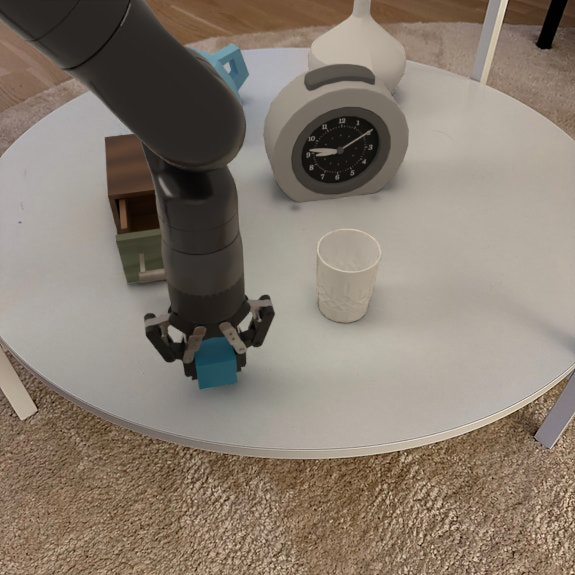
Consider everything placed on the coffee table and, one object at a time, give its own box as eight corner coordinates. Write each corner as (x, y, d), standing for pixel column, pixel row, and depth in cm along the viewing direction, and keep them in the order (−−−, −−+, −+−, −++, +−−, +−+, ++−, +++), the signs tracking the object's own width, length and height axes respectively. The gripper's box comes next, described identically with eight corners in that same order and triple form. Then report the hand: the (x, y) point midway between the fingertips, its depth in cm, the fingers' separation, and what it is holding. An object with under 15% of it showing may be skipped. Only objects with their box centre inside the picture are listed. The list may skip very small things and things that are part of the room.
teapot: (250, 100, 117) (247, 29, 107) (236, 157, 104) (230, 82, 94) (153, 95, 118) (141, 24, 108) (127, 150, 105) (110, 76, 95)
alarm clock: (272, 205, 95) (271, 89, 80) (263, 177, 100) (261, 63, 85) (400, 189, 98) (421, 74, 84) (385, 163, 103) (403, 50, 89)
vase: (419, 99, 118) (437, -3, 104) (356, 133, 109) (367, 28, 95) (350, 66, 127) (358, -31, 113) (287, 96, 118) (288, -6, 104)
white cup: (381, 297, 81) (392, 242, 74) (356, 336, 77) (364, 281, 69) (330, 275, 84) (335, 220, 77) (302, 311, 79) (305, 257, 72)
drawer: (216, 296, 80) (211, 253, 74) (129, 310, 78) (117, 267, 72) (198, 210, 92) (192, 167, 87) (122, 220, 90) (112, 178, 85)
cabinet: (207, 235, 90) (201, 183, 83) (121, 248, 88) (107, 195, 81) (194, 178, 99) (188, 127, 92) (117, 188, 97) (104, 136, 90)
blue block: (199, 390, 68) (196, 367, 65) (194, 359, 71) (190, 336, 68) (237, 383, 69) (236, 360, 66) (231, 353, 72) (229, 329, 69)
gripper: (130, 305, 54) (156, 409, 66) (286, 280, 56) (283, 385, 69) (125, 249, 59) (150, 355, 71) (268, 228, 61) (268, 334, 74)
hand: (215, 369), depth 70 cm, fingers closed on blue block, 4 cm apart
